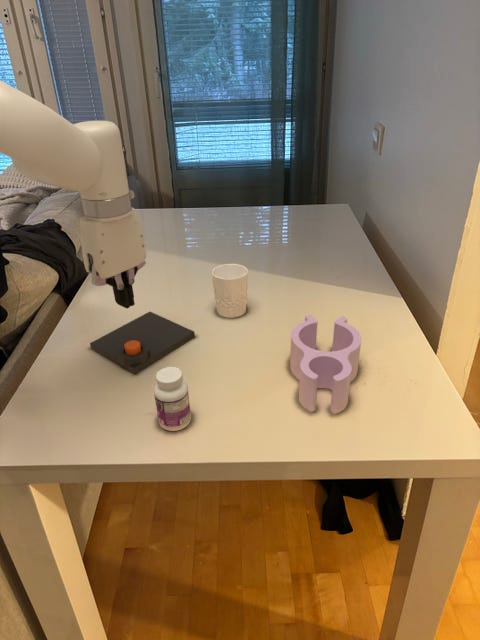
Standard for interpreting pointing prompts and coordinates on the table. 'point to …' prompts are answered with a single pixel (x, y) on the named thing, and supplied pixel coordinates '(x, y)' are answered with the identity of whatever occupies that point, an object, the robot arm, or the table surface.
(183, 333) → the scale
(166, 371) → the pill bottle
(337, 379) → the clip
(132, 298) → the robot arm
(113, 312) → the table surface
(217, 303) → the white cup
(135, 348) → the button
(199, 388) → the table surface
